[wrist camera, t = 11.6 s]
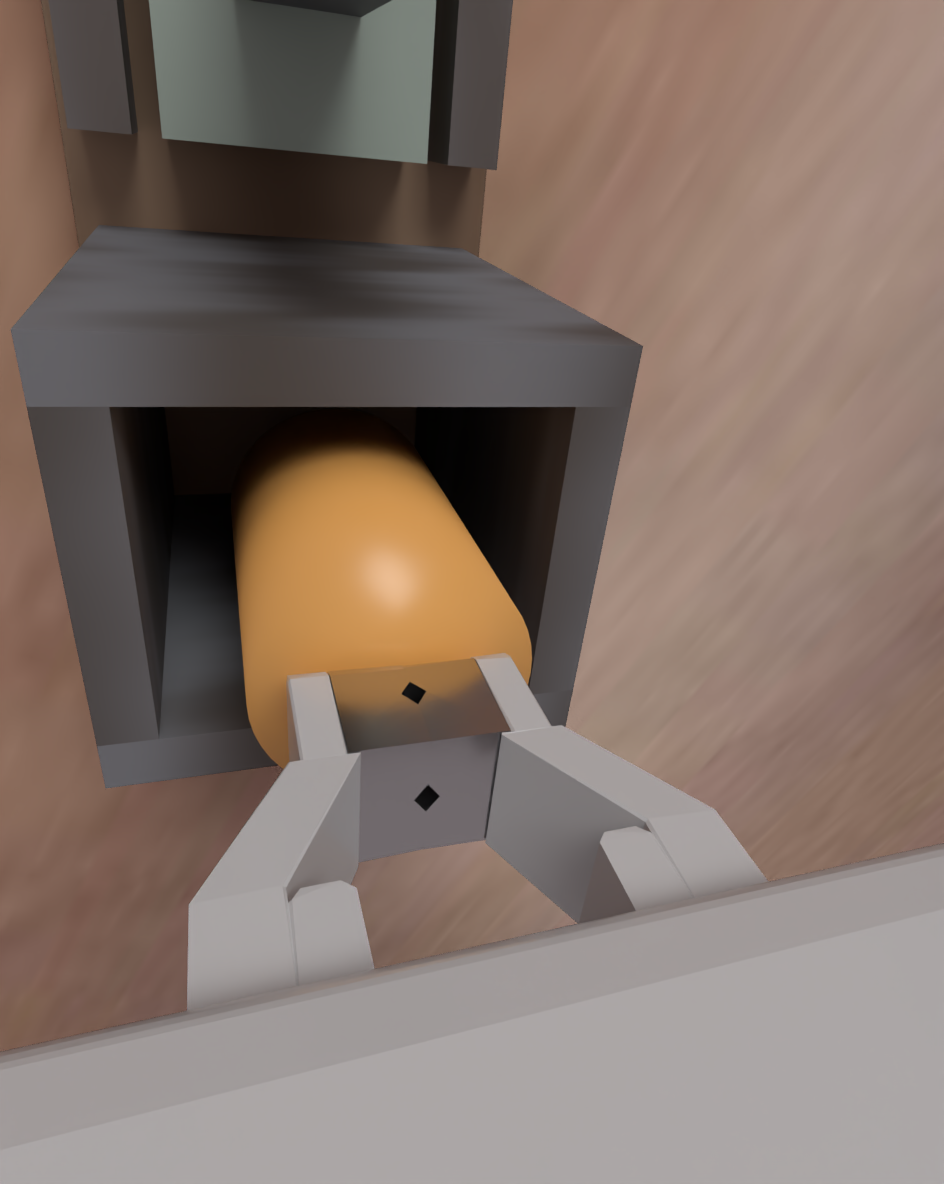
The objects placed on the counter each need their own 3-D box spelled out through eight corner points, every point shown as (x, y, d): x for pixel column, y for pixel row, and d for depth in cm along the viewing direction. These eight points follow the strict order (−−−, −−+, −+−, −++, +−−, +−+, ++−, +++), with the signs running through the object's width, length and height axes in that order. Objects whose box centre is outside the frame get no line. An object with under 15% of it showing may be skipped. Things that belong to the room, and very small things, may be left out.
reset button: (437, 408, 15) (551, 552, 10) (424, 583, 17) (513, 773, 12) (223, 408, 14) (237, 570, 9) (237, 596, 16) (254, 811, 11)
